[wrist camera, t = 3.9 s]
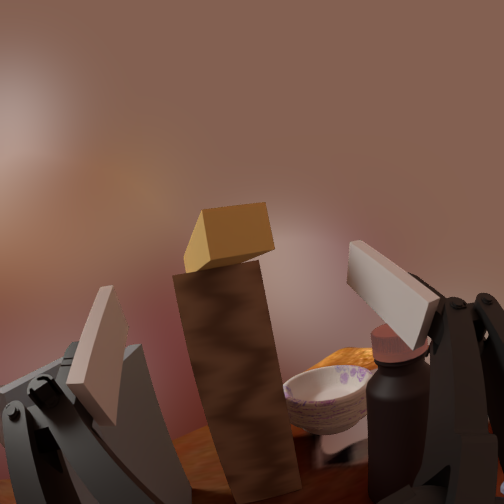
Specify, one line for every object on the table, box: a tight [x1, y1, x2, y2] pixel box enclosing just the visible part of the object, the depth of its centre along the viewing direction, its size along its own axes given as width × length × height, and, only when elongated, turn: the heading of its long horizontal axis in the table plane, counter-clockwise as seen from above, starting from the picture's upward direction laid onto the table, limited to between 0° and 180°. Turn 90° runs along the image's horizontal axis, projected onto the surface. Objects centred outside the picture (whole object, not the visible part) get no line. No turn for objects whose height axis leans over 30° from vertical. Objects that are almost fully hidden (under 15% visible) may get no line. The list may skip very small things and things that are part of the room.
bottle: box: [366, 323, 430, 504], centre depth 19 cm, size 7×7×20 cm
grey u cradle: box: [0, 344, 192, 504], centre depth 18 cm, size 9×16×22 cm, turn 10°
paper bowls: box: [283, 365, 373, 435], centre depth 40 cm, size 15×15×8 cm
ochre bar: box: [184, 202, 275, 273], centre depth 28 cm, size 4×24×3 cm, turn 16°
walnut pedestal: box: [173, 260, 302, 504], centre depth 31 cm, size 8×14×28 cm, turn 10°
